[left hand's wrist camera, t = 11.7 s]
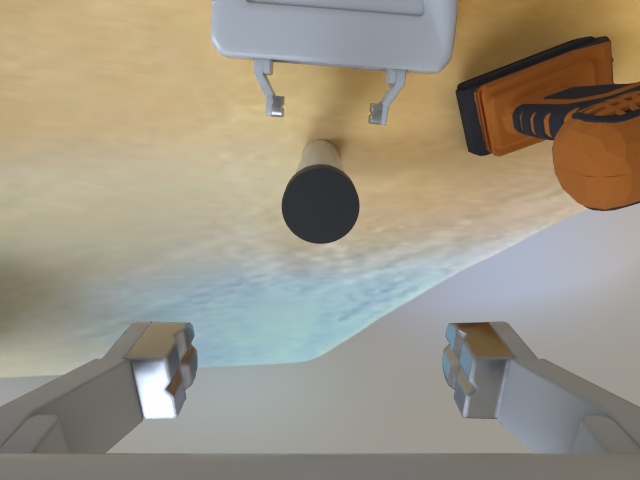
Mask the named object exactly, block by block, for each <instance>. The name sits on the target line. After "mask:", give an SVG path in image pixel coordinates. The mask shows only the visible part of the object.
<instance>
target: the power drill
mask: <svg viewBox="0 0 640 480" xmlns="http://www.w3.org/2000/svg"><path fill="white" fill-rule="evenodd" d="M612 62H613V58H612V54H611V41H610V40H609V38H608V37H606V36H604V37H598V38H594V37H592V36H590V37H584V38H579V39H575V40H571V41H569V42H566V43H563V44H561V45H558V46H556V47H553V48H550V49H548V50H545V51H543V52H540V53H538V54H535V55H532V56H530V57H527V58H525V59H522V60H519V61H517V62H514V63H512V64H509V65H506V66H504V67H501V68H499V69H496V70H493V71H491V72H488V73H486V74H483V75H480V76H478V77H475V78H473V79H470V80H467V81H465V82H462V83H460V84H458V86H457V90H456V95H457V100H458V105H459V110H460V114H461V119H462V124H463V128H464V133H465V138H466V143H467V147H468V152H471V153H473V154H477V155H479V156H484V155H488V154H491V153H493V154H494V155H496V156H502V155H505V154H508V153H511V152H513V151H516V150H519V149H522V148H525V147H527V146H530V145H533V144H536V143H539V142H541V141H544V140H554V143H553V147H552V153H553V163H554V169H555V174H556V176H557V178H558V180H559V182H560V184H561V186H562V188H563V189H564V190H565V191H566V192H567V193H568V194H569V195H570V196H571V197H572V198H573V199H574V200H576V201H577V202H578V203H580V204H582V205H584V206H585V207H586V208H589V209H592V210H599V211H610V210H617V209H620V208H624V207H628V206H631V205H634V204H637V203H640V82H637V83H632V84H614V83H613V70H612Z"/></svg>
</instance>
